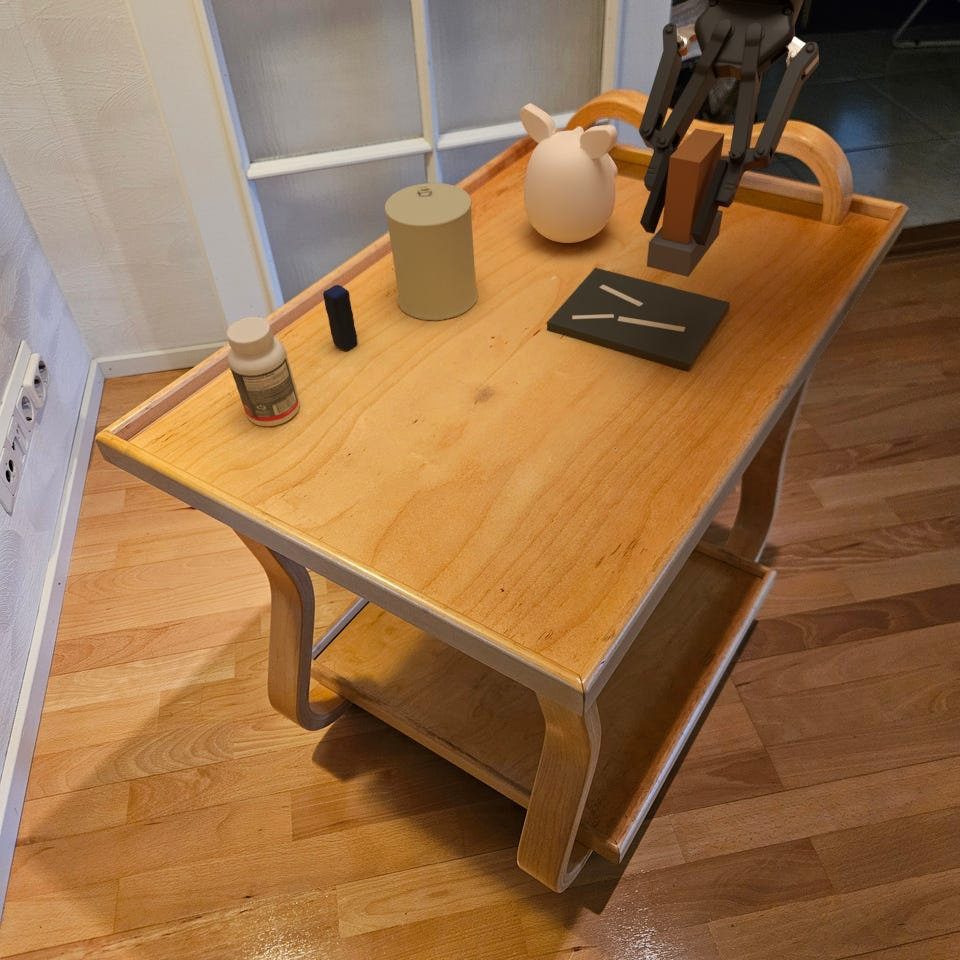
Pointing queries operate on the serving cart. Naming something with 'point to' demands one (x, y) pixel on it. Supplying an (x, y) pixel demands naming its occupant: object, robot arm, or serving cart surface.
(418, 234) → the can
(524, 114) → the piggy bank
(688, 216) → the chalk eraser
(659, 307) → the slate board
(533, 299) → the serving cart surface
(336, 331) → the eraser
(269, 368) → the pill bottle
